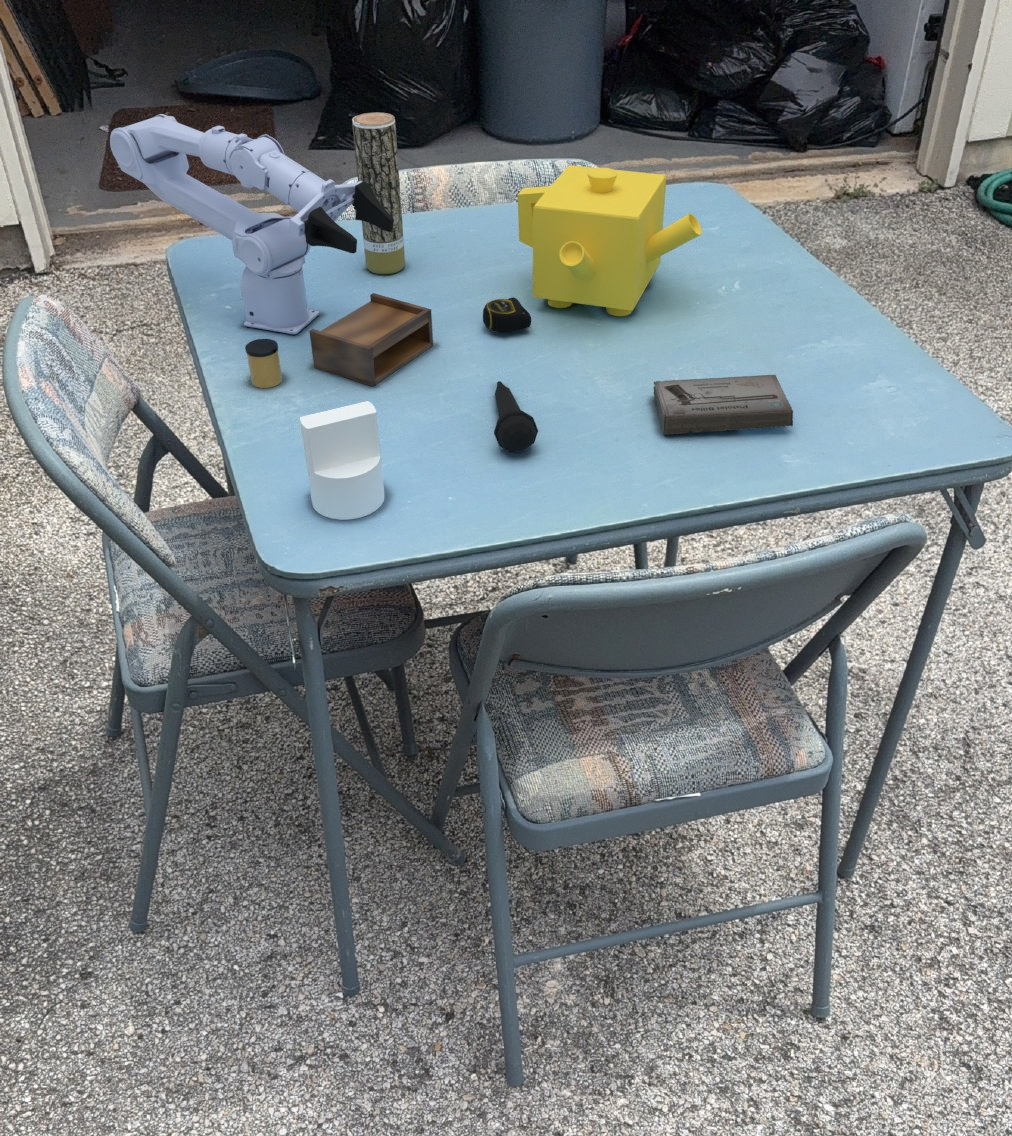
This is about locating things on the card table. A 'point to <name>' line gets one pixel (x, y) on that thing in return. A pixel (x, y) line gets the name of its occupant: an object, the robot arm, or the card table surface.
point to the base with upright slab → (344, 461)
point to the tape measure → (505, 316)
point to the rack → (373, 340)
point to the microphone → (513, 422)
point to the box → (721, 404)
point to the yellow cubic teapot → (598, 236)
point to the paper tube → (380, 188)
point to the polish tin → (264, 363)
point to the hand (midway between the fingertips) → (373, 236)
